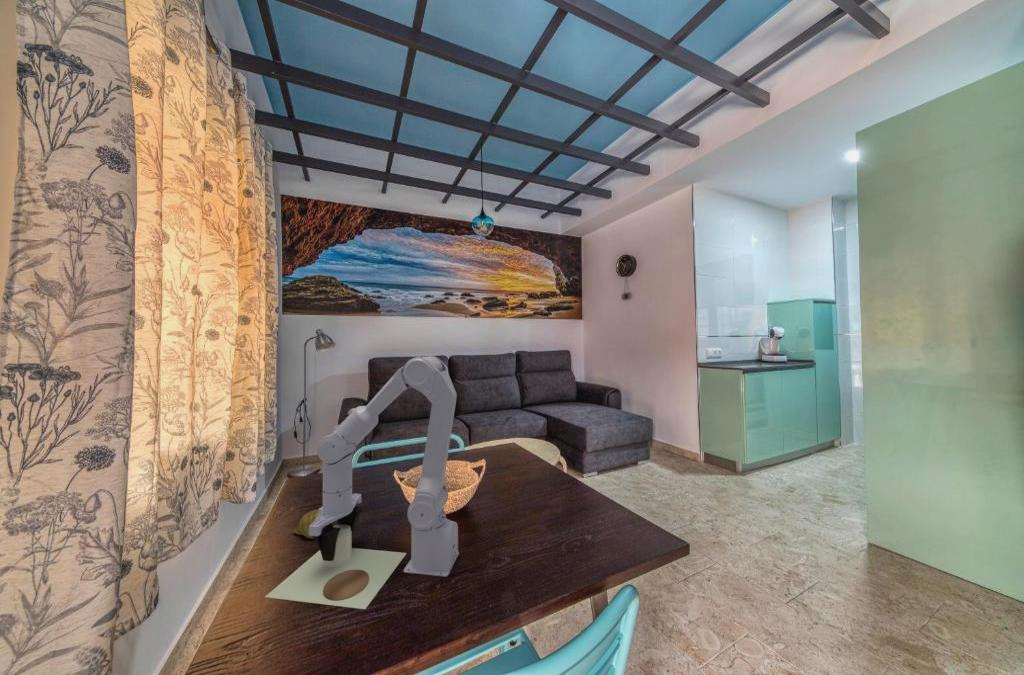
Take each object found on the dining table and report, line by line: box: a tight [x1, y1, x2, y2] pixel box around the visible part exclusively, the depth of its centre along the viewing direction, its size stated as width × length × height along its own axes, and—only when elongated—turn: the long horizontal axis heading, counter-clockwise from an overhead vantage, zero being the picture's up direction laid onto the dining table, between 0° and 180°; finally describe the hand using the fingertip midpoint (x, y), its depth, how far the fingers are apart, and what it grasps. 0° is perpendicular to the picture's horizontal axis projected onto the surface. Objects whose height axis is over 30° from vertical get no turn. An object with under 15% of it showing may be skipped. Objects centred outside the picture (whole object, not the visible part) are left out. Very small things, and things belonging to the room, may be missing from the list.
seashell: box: [292, 509, 320, 540], centre depth 84 cm, size 10×7×8 cm
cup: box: [323, 524, 353, 567], centre depth 73 cm, size 5×5×6 cm
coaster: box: [323, 569, 369, 601], centre depth 65 cm, size 8×8×1 cm
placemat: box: [264, 547, 407, 610], centre depth 69 cm, size 20×16×1 cm
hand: (337, 551), depth 73 cm, fingers closed on cup, 5 cm apart
